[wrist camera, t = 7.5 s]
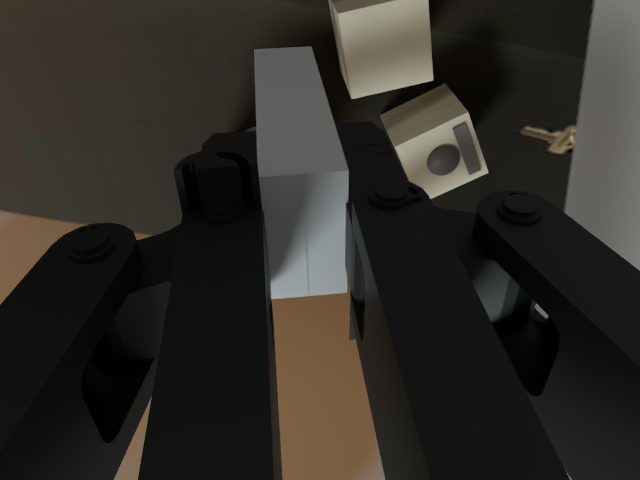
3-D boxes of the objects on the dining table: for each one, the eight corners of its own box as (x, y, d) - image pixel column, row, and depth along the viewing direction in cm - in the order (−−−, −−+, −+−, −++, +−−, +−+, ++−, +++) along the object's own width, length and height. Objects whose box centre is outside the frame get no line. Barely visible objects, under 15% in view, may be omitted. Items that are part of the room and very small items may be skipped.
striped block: (379, 114, 46) (395, 148, 41) (444, 82, 45) (469, 112, 40) (403, 168, 50) (420, 204, 45) (464, 139, 48) (489, 173, 44)
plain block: (327, -8, 40) (337, 13, 35) (406, -27, 40) (427, -8, 35) (340, 70, 43) (351, 99, 39) (412, 53, 43) (433, 80, 38)
